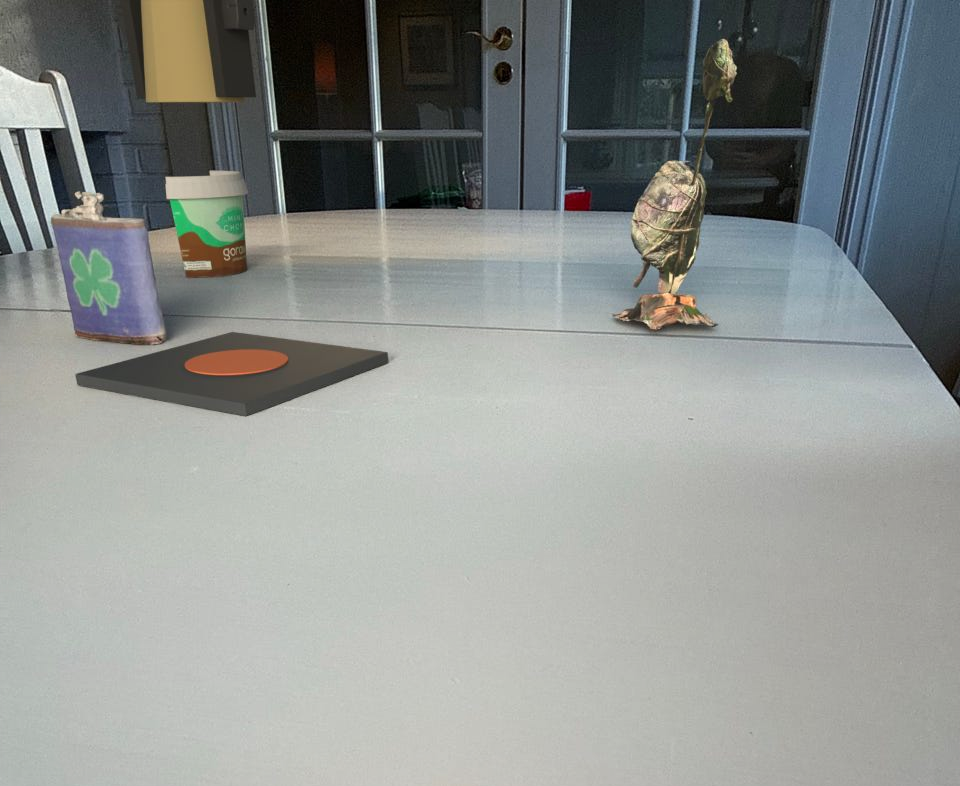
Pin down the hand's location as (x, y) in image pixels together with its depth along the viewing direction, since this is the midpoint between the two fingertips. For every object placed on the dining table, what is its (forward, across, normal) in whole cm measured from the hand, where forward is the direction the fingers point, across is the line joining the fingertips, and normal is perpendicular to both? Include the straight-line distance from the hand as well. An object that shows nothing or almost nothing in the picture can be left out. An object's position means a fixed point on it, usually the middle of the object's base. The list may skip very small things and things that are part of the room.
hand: (196, 97), depth 56 cm
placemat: (+17, -2, +2) cm, 17 cm away
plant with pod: (+17, -22, -28) cm, 40 cm away
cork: (0, 0, 0) cm, 0 cm away
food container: (+17, +32, -34) cm, 49 cm away
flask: (+17, +15, -2) cm, 23 cm away
